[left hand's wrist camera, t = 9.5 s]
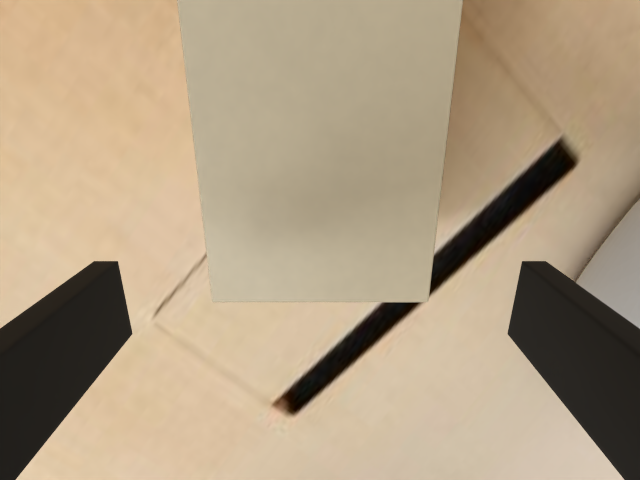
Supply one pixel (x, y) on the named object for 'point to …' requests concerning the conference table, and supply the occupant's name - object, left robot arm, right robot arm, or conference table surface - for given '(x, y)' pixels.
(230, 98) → the cabinet
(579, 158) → the conference table surface
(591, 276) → the projector
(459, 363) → the conference table surface
